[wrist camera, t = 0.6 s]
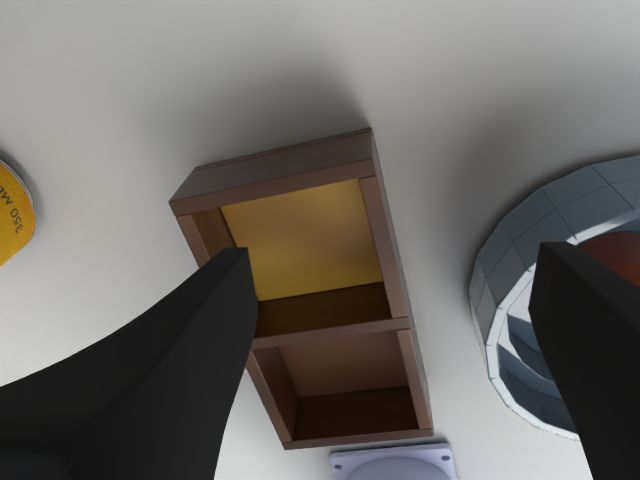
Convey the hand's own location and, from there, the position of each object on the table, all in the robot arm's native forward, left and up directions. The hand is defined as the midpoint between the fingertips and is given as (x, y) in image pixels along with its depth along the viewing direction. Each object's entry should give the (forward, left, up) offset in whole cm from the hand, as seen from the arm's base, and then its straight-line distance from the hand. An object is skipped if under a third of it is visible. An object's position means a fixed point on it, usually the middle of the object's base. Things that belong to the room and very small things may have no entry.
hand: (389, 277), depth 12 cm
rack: (-7, +4, -10) cm, 13 cm away
